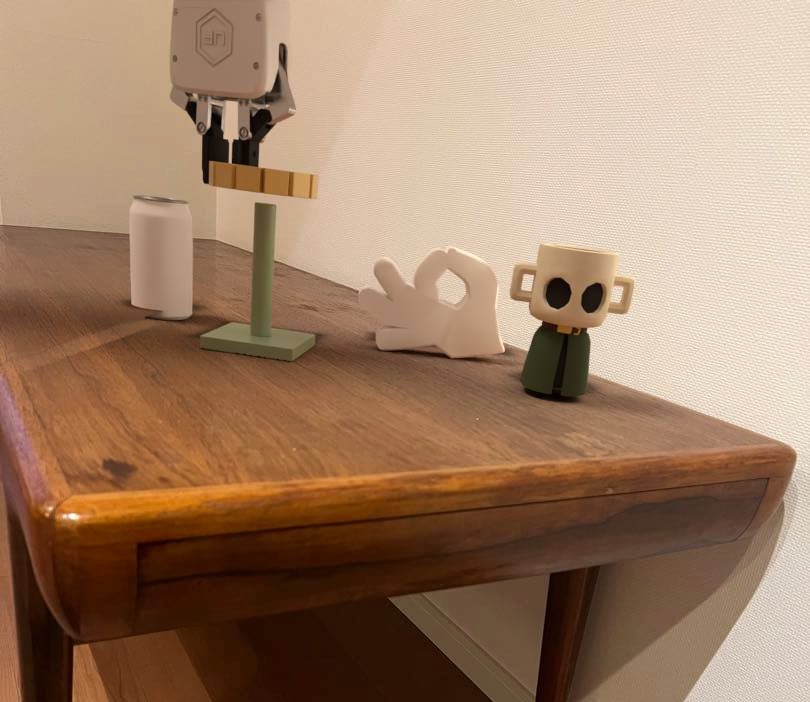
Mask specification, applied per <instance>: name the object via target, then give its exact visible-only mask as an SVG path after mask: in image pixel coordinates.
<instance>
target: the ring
mask: <svg viewBox="0 0 810 702" xmlns="http://www.w3.org/2000/svg"><path fill="white" fill-rule="evenodd" d="M208 185H209V186H212V187H215V188H221V189H229V190H236V191H242V192H243V191H244V192H250V193H257V194H265V195H271V196H272V195H273V196H282V197H291V198H300V199H310V200H312V199H313V200H317V199H318V189H319V175H318V174H312V173H311V174H310V173H303V172H297V171H289V170H281V169H275V168H267V167H253V166H245V165H238V164H232V163H230V162H229V163H223V162H215V161H209V184H208Z"/></svg>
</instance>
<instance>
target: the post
mask: <svg viewBox="0 0 810 702" xmlns="http://www.w3.org/2000/svg"><path fill="white" fill-rule="evenodd" d="M253 207H254V212H253V216H254V217H253V236H252V237H253V238H252V239H253V241H252V266H251V267H252V268H251V270H252V271H251V275H252V276H251V297H250V298H251V299H250V324H247V323H241V322H233V321H232V322H228V323H227V324H225V325H222V326H220V327H218V328H215V329H212V330H210V331H208V332H206V333H203V334H201V335H200V336H199V349H202V348H204V349H203V350H209V349H210V350H209V351H216V350H217V351H216V352H225V353H229V354H230V353H231V354H236V353H239V354H238V355H243V354H246V355H245V356H250V355H252V357H257V356H260V357H259V358H264V357H265V359H270V360H271V359H272V360H277V359H279V361H284V360H286V361H285V362H291V361H292V362H294V361H296V359H298V358H299V357H300V356H302V355H303V354H305V353H306V352H308V351H309V350H311V349H312V348H313V347H315V344H316V334H315V333H311V332H303V331H296V330H289V329H282V328H277V327H272V316H273V315H272V314H273V294H274V293H273V292H274V271H275V249H276V248H275V247H276V226H277V225H276V224H277V204H274V203H266V202H258V201H257V202H256V201H255V202H254V205H253Z"/></svg>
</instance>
